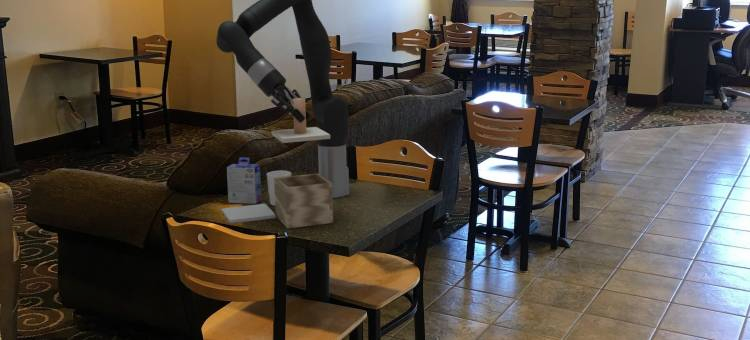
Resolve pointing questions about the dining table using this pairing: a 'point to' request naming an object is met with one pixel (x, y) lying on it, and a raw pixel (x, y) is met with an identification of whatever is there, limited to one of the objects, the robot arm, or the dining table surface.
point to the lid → (300, 128)
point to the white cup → (271, 183)
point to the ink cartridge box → (244, 182)
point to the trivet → (248, 213)
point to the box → (303, 200)
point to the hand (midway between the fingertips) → (305, 119)
